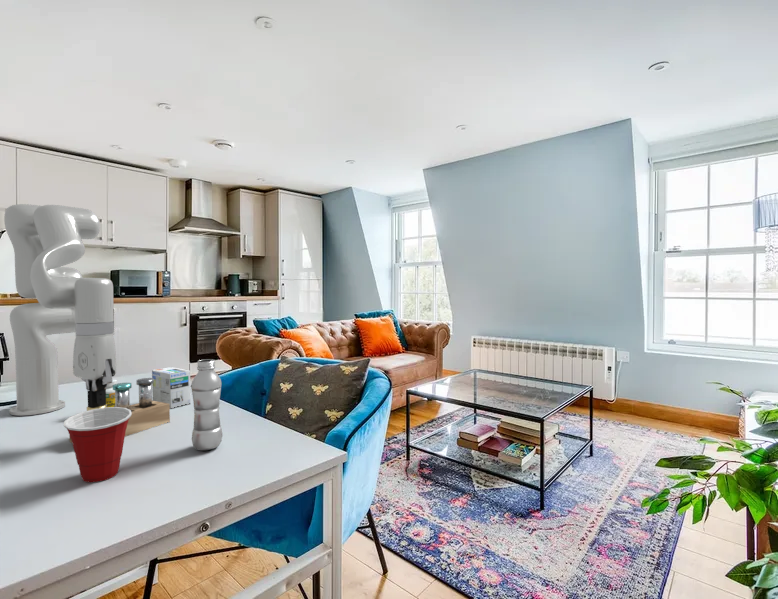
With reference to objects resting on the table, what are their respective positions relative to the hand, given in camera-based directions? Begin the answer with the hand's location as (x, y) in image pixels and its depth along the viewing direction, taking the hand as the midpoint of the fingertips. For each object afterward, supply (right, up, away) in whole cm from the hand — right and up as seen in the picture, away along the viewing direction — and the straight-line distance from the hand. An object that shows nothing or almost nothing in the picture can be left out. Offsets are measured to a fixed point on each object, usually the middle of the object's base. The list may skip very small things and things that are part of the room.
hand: (97, 406), depth 99 cm
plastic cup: (+14, -9, -19) cm, 25 cm away
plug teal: (+3, -3, +6) cm, 7 cm away
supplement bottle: (-11, -8, +20) cm, 24 cm away
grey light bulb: (+5, -3, +11) cm, 13 cm away
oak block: (+3, -8, +6) cm, 10 cm away
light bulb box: (+2, -7, +30) cm, 31 cm away
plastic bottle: (+29, -9, -5) cm, 30 cm away
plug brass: (0, -8, 0) cm, 8 cm away
